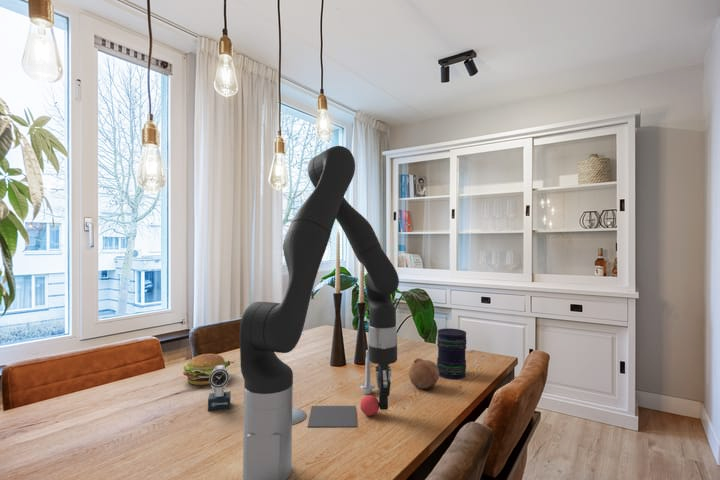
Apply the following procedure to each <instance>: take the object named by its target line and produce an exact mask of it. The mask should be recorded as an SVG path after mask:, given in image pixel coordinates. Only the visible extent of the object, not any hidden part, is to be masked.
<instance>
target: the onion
mask: <svg viewBox="0 0 720 480" xmlns="http://www.w3.org/2000/svg"><path fill="white" fill-rule="evenodd" d="M408 370H409V371H408V377H409V380H410V382H411V385H413V386H414V387H416V388H418V389H424V390H431V389H433V388H435V386H436V383H438V381H439V379H440V376H439V370H438V367H437V363H435V362H434V361H431V360H429V359H423V358H419V357H417V358H415V359H414V361H413V363H412V364H411V365H410V367H409V369H408Z"/></svg>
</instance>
